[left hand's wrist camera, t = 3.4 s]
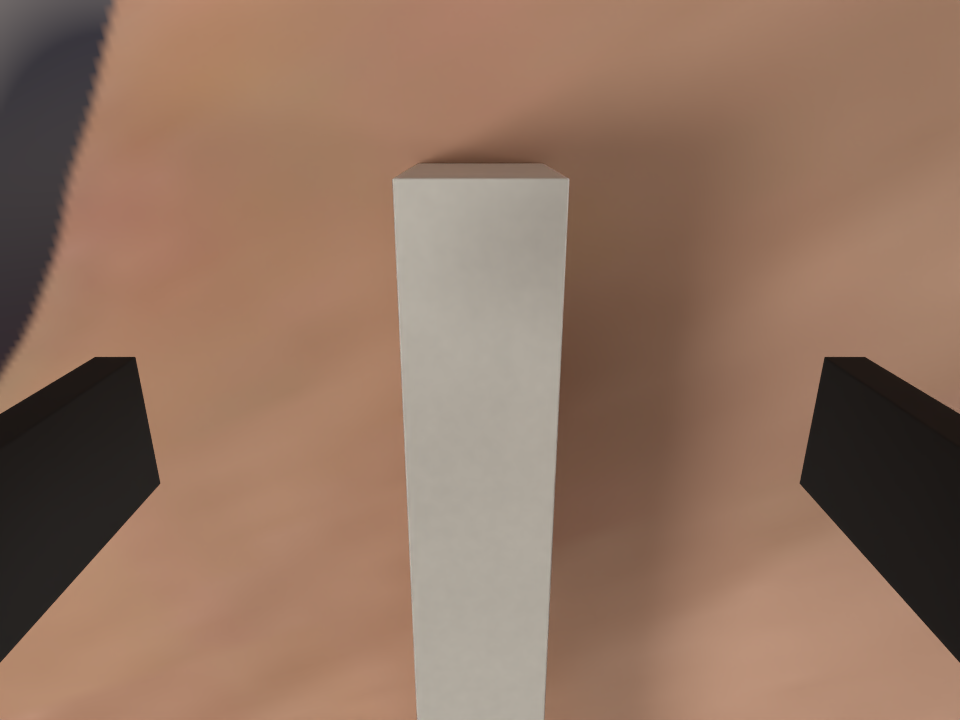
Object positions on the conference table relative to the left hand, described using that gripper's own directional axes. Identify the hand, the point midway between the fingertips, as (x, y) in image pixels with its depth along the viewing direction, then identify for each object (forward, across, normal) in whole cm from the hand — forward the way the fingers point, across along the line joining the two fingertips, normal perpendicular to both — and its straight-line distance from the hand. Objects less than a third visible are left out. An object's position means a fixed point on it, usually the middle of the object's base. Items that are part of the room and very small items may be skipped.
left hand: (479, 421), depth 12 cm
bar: (+15, 0, -27) cm, 31 cm away
